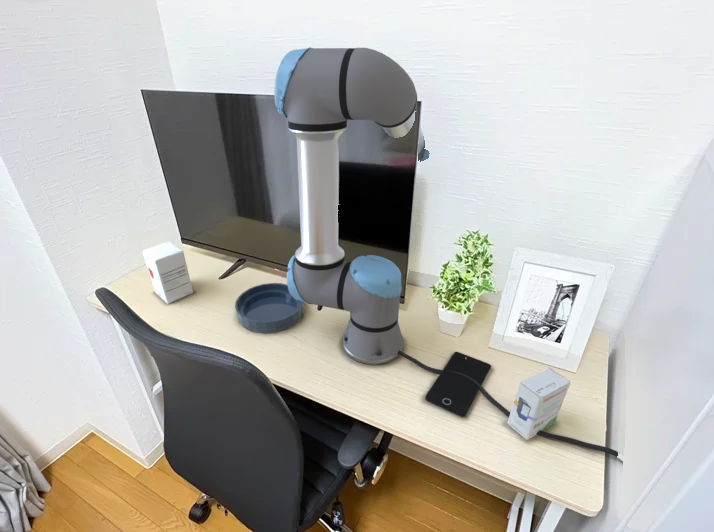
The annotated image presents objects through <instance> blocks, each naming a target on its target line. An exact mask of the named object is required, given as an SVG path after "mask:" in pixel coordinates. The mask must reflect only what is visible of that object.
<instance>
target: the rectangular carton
mask: <svg viewBox="0 0 714 532" xmlns="http://www.w3.org/2000/svg"><path fill="white" fill-rule="evenodd" d="M142 256H143V258H144V261H145V264H146V267H147V270H148V274H149V276H150V280H151V283H152V286H153V289H154V292H155V294H156V295H157V296H158V297H159V298H161V299H162V301H164V302H165V304H167V305H169V304H171V303H173V302H175V301H178V300H180V299H182V298H185V297H187V296H189V295H191V294H194V290H193V285H192V282H191V276H190V273H189V269H188V265H187V261H186V257H185V253H184V250H182V249H181V248H180V247H178V246H177V245H176V244H174V243H172V242H171V241H166V242H164V243H160V244H158V245H155V246H152V247H148V248H146V249H144V250H142Z"/></svg>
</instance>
